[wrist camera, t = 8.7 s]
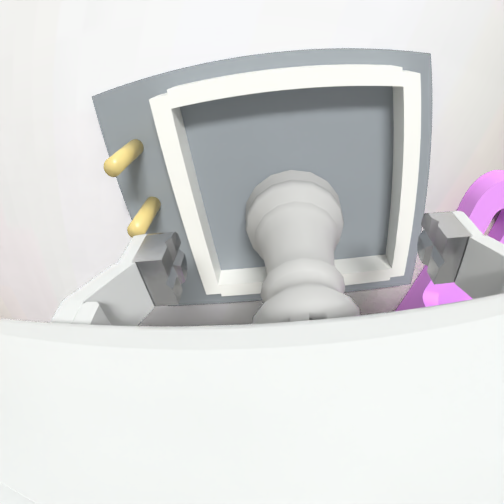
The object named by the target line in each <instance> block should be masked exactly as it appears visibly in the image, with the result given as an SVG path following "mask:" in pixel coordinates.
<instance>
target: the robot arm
mask: <svg viewBox="0 0 504 504" xmlns="http://www.w3.org/2000/svg"><path fill="white" fill-rule="evenodd" d="M421 226H422V228H423V231H422V233H421V234H420V235H419V237H418V243H417V248H418V255H419V258H420V260H421V262H422V263H423V264H425V265H427V266H428V269H427V273H428V274H429V276H430V278H431V280H432V282H433V284H444V283H453V282H455V284H456V285H457V286H458V287H459V288H461V289H462V290H463V291H464V292H465V293H467V294H468V295H469V296H470V297H471V298H472V299H470V300H465V301H459V302H453V303H447V304H441V305H435V306H428V307H422V308H415V309H408V310H401V311H393V312H385V313H377V314H369V315H360V316H350V317H340V318H330V319H319V320H306V321H293V322H278V323H261V324H240V325H212V326H138V325H139V324H140V323H141V322H142V320H143V319H144V318H145V317H146V316H147V315H148V314H149V313H150V312H151V311H152V310H153V309H154V308H155V306H165V305H179V302H180V298H181V295H182V291H183V289H182V287H181V284H183V283H184V282H185V281H186V277H187V260H186V257H185V254H184V253H183V252H182V251H181V250H180V249H179V248H180V245H181V240H180V237H179V234H178V233H177V232H164V233H152V234H141V235H135V236H133V237H132V239H131V241H130V243H129V244H128V246H127V248H126V249H125V251H124V253H123V254H122V256H121V258H120V260H119V261H118V263H117V264H113V265H111V266H110V267H108V268H107V269H105V270H104V271H103V272H101V273H100V274H98V275H97V276H96V277H94V278H93V279H91V280H90V281H89V282H87V283H86V284H84V285H83V286H82V287H80V288H79V289H78V290H76V291H75V292H73V293H72V294H71V295H69V296H68V297H67V298H65V299H64V300H63V301H62V302H61V304H60V306H59V307H58V309H57V311H56V313H55V314H54V316H53V318H52V320H51V321H50V322H39V321H27V320H16V319H6V318H0V504H504V244H502V243H501V242H499V241H497V240H495V239H493V238H491V237H489V236H487V235H486V236H484V235H483V234H482V232H481V231H480V230H479V229H478V228H477V227H476V225H475V224H474V223H473V222H472V221H471V220H470V219H469V218H468V216H467V215H466V214H465V213H464V212H462V211H451V212H437V213H425V214H424V215H423V217H422V221H421Z"/></svg>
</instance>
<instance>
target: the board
mask: <svg viewBox="0 0 504 504" xmlns="http://www.w3.org/2000/svg"><path fill="white" fill-rule="evenodd" d="M92 99H93V103H94V107H95V110H96V114H97V117H98V121H99V124H100V128H101V131H102V134H103V138H104V141H105V144H106V147H107V151H108V154H109V157H110V158H108V159H107V160H106V161H105V163H104V170H105V172H106V173H107V174H108V175H109V176H111V177H116V178H117V181H118V184H119V187H120V189H121V192H122V195H123V198H124V201H125V203H126V206H127V209H128V211H129V214H130V217H131V219H132V222H131V223H130V225H129V226H128V229H127V231H128V234H129V235H130V236H131V237H133V236H135V235H141V234H152V233H164V232H177V233H178V234H179V237H180V240H181V245H180V248H179V249H180V250H181V251H182V252H183V253H184V254H185V257H186V260H187V277H186V281H185V282H184V283H183V284H181V287H182V289H183V291H182V295H181V298H180V302H179V305H198V304H215V303H231V302H245V301H258V300H262V298H261V296H260V295H261V286H262V282H263V281H264V279H265V278H266V277H267V273H266V268H265V263H264V260H263V259H262V258H261V257H260V256H259V253H257V252H256V251H255V250H254V249H253V246H252V244H251V242H250V239H249V237H248V234H247V232H246V220H245V215H246V202H247V200H248V199H249V197H250V195H251V193H252V192H253V190H254V188H255V187H256V186H257V185H258V184H260V183H261V182H262V181H264V180H265V179H266V178H268V177H269V176H270V175H273V174H277V173H281V172H284V171H288V170H296V171H305V172H311V173H313V174H315V175H317V176H319V177H320V178H322V179H324V180H326V181H328V183H329V184H330V185H331V187H332V188H333V189H334V191H335V192H336V193H337V195H338V197H339V202H340V205H341V210H342V215H343V220H344V225H343V230H342V233H341V237H340V241H339V243H338V244H337V246H336V249H335V251H334V264H335V267H336V269H337V270H338V271H339V272H340V273H341V275H342V276H343V277H344V283H345V292H352V291H361V290H369V289H377V288H385V287H393V286H400V285H408V284H411V280H412V276H413V271H414V267H415V262H416V257H417V252H418V248H417V243H418V237H419V235H420V234H421V229H422V226H421V221H422V217H423V215H424V210H425V202H426V194H427V186H428V176H429V165H430V152H431V134H432V69H431V54H430V53H421V52H412V51H400V50H386V49H355V48H342V49H311V50H296V51H284V52H274V53H265V54H257V55H250V56H243V57H237V58H231V59H225V60H219V61H214V62H209V63H204V64H199V65H195V66H190V67H186V68H182V69H178V70H174V71H170V72H166V73H162V74H159V75H155V76H152V77H148V78H145V79H141V80H138V81H135V82H132V83H129V84H126V85H123V86H120V87H117V88H114V89H111V90H108V91H106V92H103V93H100V94H97V95H95V96H92ZM179 305H168V306H179Z"/></svg>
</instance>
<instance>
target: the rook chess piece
mask: <svg viewBox="0 0 504 504" xmlns="http://www.w3.org/2000/svg"><path fill="white" fill-rule="evenodd" d="M245 220H246V232H247V234H248V237H249V239H250V242H251V244H252V246H253V249H254V250H255V251H256V252H257V253H259V256H260V257H261V258H262V259H263V260H264V263H265V268H266V273H267V277H266V278H265V279H264V281H263V282H262V286H261V295H260V296H261V298H262V300H263V302H264V304H263V305H262V306H261V307H260V309H259V310H258V311H257V313H256V314H255V315H254V316H253V322H252V324H261V323H278V322H293V321H306V320H319V319H330V318H340V317H350V316H360V309H359V307H358V306H357V305H356V304H355V303H354V302H353V300H352V299H351V298H350V297H349V296H347V295H345V294H344V292H345V283H344V277H343V276H342V275H341V273H340V272H339V271H338V270H337V269H336V267H335V264H334V251H335V249H336V246H337V244H338V243H339V241H340V237H341V233H342V230H343V225H344V220H343V215H342V210H341V205H340V202H339V197H338V195H337V193H336V192H335V191H334V189H333V188H332V187H331V185H330V184H329V183H328V181H326V180H324V179H322V178H320V177H319V176H317V175H315V174H313V173H311V172H305V171H296V170H288V171H284V172H281V173H277V174H273V175H270V176H269V177H268V178H266V179H265V180H264V181H262V182H261V183H260V184H258V185H257V186H256V187H255V188H254V190H253V192H252V193H251V195H250V197H249V199H248V200H247V202H246V215H245Z"/></svg>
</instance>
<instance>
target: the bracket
mask: <svg viewBox="0 0 504 504" xmlns="http://www.w3.org/2000/svg"><path fill="white" fill-rule="evenodd" d="M499 210H501V212H500V214H499V216H498V218H497V220H496V222H495V223H494V225H493V227H492V229H491V230H490V232H489V234H488V236H489V237H491V238H493V239H495V240H497V241H499V242H501V243H502V244H504V171H503V170H494V171H490V172H488V173H486V174H484V175H482V176H481V177H479V178H478V179H477V180H476V181H475V182H474V183H473V184H472V185H471V186H470V188H469V189H468V190H467V192H466V193H465V195H464V197H463V199H462V201H461V203H460V205H459V207H458V209H457V211H462V212H464V213H465V214H466V215H467V216H468V218H469V219H470V220H471V221H472V222H473V223H474V224H475V225H476V227H477V228H478V229H479V230H480V231H481V232H482V234H484V233H485V231H486V229H487V227H488V226H489V224H490V222H491V220H492V218H493V217H494V215H495V214H496V213H497V212H498V211H499ZM427 269H428V266H427V265H425V267H424V268H423V270H422V271H421V273H420V275H419V276H418V278H417V279H416V281H415V282H414V284H413V285H412V287H411V288H410V290H409V291H408V293H407V294H406V296H405V297H404V299H403V300H402V302H401V303H400V304H399V306H398V307H397V309H396V310H395V311H401V310H408V309H415V308H422V307H428V306H435V305H441V304H447V303H453V302H459V301H465V300H470V299H472V298H471V297H470V296H469V295H468V294H467V293H465V292H464V291H463V290H462V289H461V288H459V287H458V286H457V285H456V284H455V282H453V283H444V284H433V282H432V280H431V278H430V276H429V274H428V273H427Z"/></svg>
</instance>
